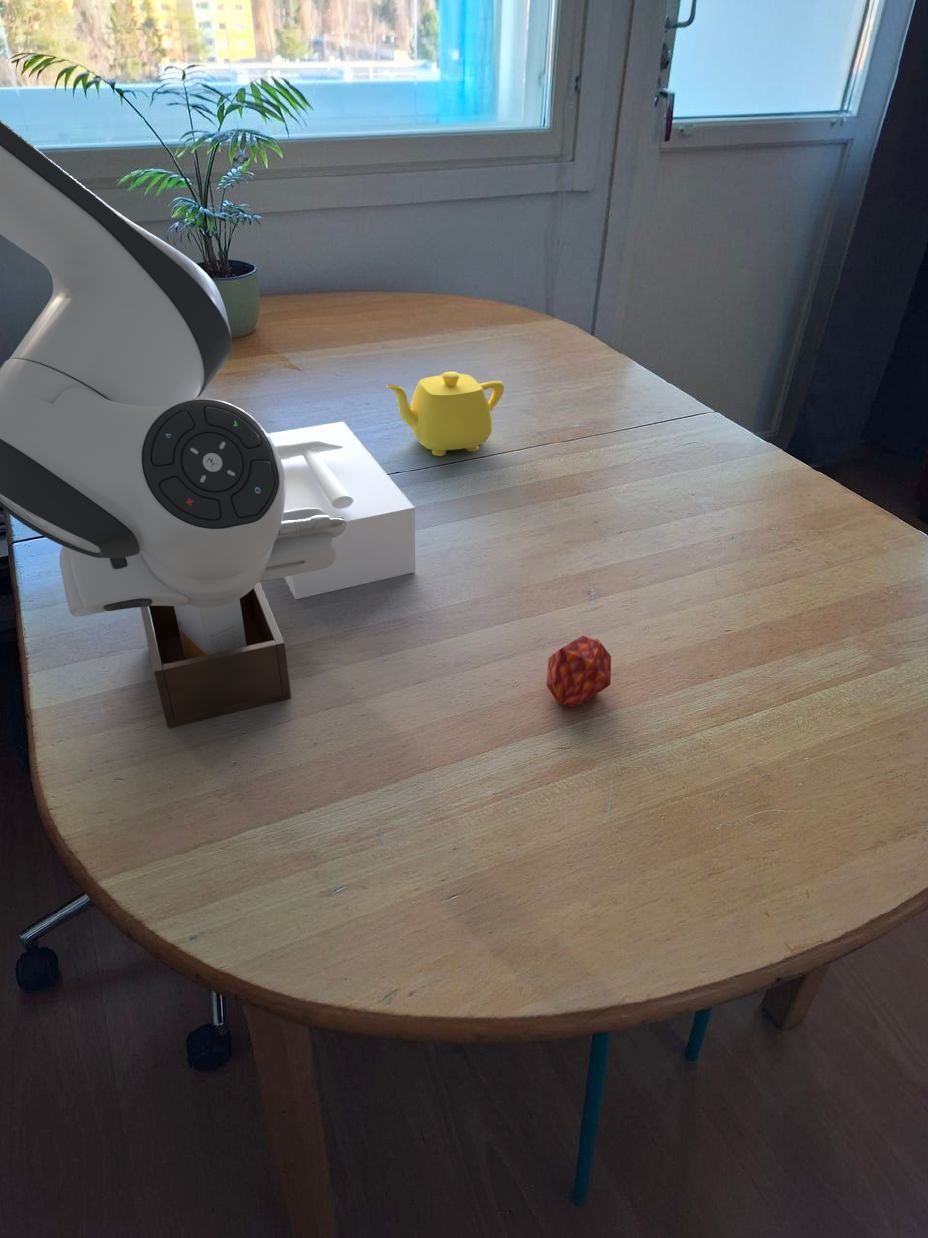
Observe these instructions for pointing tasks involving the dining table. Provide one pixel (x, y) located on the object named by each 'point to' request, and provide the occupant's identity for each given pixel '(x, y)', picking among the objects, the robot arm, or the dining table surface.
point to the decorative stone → (579, 671)
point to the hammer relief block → (347, 507)
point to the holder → (217, 665)
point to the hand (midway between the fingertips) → (203, 584)
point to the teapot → (449, 411)
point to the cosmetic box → (210, 629)
